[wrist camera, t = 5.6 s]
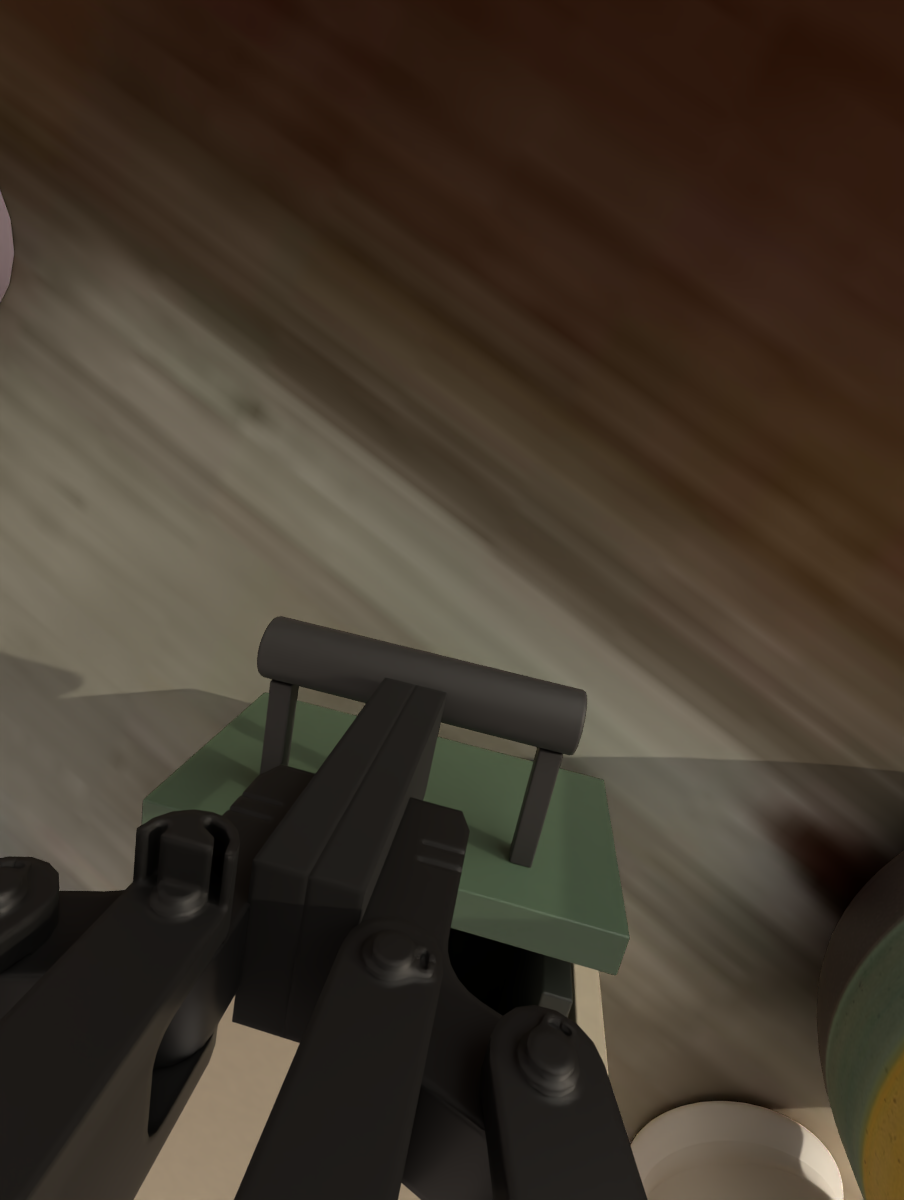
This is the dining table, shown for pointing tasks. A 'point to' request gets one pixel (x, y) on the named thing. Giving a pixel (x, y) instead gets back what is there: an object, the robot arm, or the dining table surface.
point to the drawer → (452, 802)
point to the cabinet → (270, 1104)
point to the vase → (867, 1032)
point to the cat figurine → (5, 248)
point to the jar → (733, 1156)
